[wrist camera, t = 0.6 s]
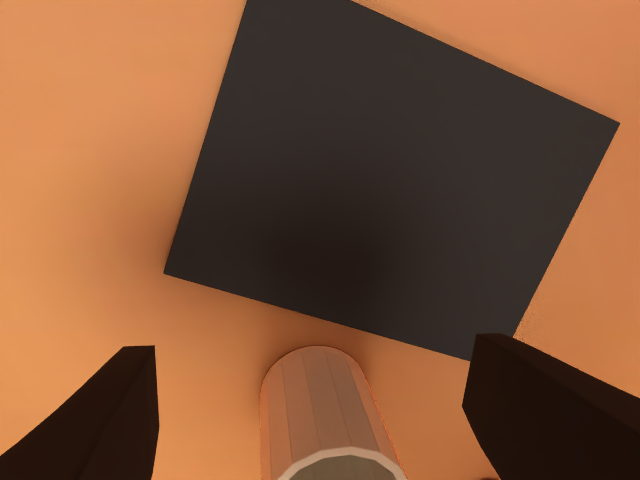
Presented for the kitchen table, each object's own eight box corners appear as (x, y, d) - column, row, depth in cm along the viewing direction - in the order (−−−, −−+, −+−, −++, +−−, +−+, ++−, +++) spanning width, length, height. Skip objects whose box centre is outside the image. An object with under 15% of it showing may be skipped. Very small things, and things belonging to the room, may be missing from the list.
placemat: (493, 365, 24) (496, 369, 24) (164, 271, 20) (163, 273, 20) (616, 122, 21) (621, 123, 21) (259, -39, 17) (259, -42, 17)
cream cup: (343, 447, 24) (378, 578, 17) (245, 426, 23) (242, 557, 16) (382, 360, 23) (434, 465, 16) (281, 332, 22) (292, 433, 15)
